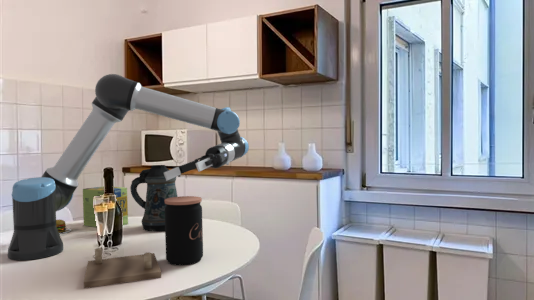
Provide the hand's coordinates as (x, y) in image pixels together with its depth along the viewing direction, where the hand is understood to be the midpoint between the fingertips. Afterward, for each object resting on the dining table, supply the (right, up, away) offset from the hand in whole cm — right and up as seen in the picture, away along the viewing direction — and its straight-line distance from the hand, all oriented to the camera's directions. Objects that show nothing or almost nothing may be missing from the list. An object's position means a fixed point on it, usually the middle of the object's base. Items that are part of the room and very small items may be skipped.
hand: (181, 172), depth 122 cm
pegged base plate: (-12, -26, -16) cm, 33 cm away
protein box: (-41, -25, +44) cm, 65 cm away
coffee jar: (+2, -26, -7) cm, 27 cm away
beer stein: (-17, -25, +36) cm, 47 cm away
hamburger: (-55, -26, +32) cm, 68 cm away
